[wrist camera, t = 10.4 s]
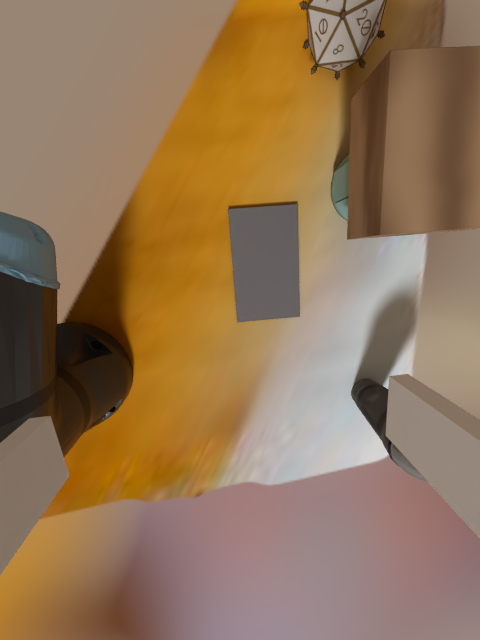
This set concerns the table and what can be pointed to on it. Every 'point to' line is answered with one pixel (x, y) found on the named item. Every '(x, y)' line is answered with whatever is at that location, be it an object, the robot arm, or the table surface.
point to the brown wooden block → (416, 145)
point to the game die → (342, 31)
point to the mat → (265, 261)
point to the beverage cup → (380, 419)
